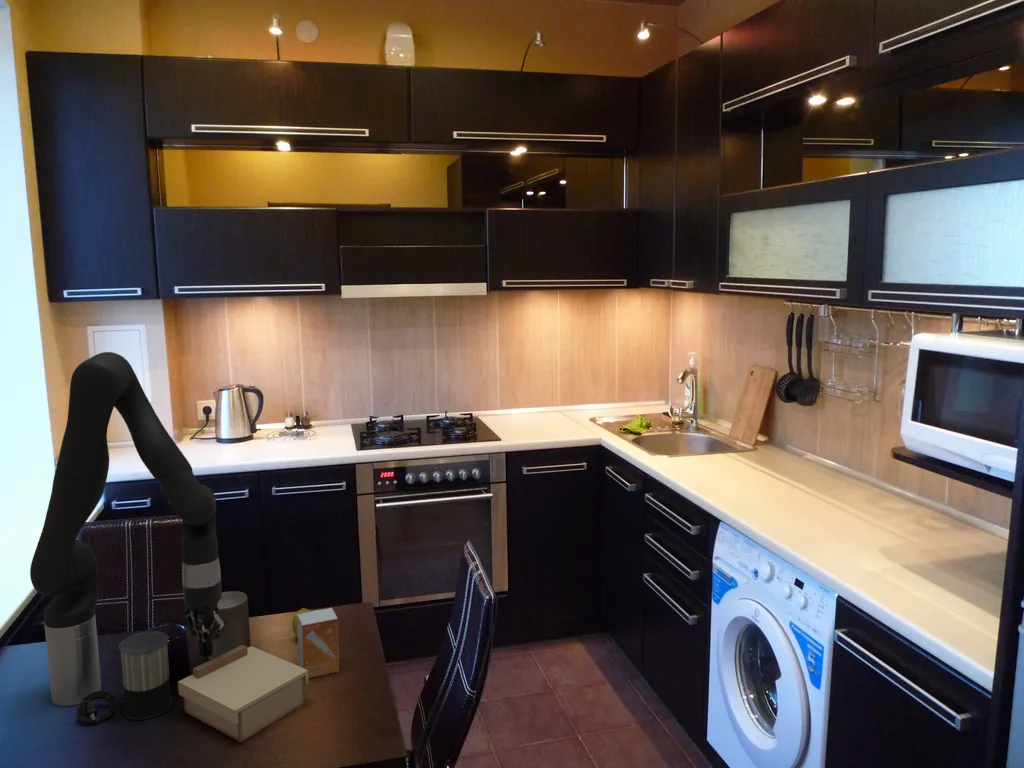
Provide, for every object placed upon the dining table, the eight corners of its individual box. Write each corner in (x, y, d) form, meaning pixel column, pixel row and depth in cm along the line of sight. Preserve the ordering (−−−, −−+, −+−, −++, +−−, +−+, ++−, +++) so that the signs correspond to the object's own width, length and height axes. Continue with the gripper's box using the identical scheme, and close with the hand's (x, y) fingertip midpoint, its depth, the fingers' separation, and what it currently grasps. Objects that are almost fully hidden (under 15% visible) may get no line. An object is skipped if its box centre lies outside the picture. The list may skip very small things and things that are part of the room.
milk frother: (182, 705, 158) (177, 638, 155) (106, 743, 145) (100, 671, 143) (144, 684, 166) (140, 620, 164) (69, 718, 153) (63, 650, 151)
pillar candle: (258, 645, 183) (255, 586, 181) (238, 666, 173) (234, 604, 171) (221, 643, 184) (217, 584, 182) (198, 663, 175) (194, 601, 172)
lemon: (310, 631, 190) (309, 601, 189) (319, 640, 186) (318, 609, 185) (289, 638, 186) (287, 607, 185) (298, 646, 182) (297, 615, 181)
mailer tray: (184, 712, 155) (182, 685, 154) (250, 677, 168) (248, 652, 167) (240, 742, 145) (238, 713, 144) (305, 703, 158) (304, 676, 158)
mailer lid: (178, 694, 154) (177, 673, 153) (252, 657, 168) (251, 638, 168) (235, 724, 144) (234, 701, 143) (308, 682, 158) (307, 662, 158)
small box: (303, 680, 167) (301, 625, 165) (298, 667, 173) (296, 613, 171) (340, 672, 171) (338, 617, 169) (333, 659, 176) (331, 606, 175)
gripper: (167, 578, 161) (172, 654, 163) (205, 592, 153) (209, 672, 156) (198, 567, 167) (203, 640, 169) (236, 580, 160) (240, 657, 162)
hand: (206, 656), depth 163 cm, fingers closed
